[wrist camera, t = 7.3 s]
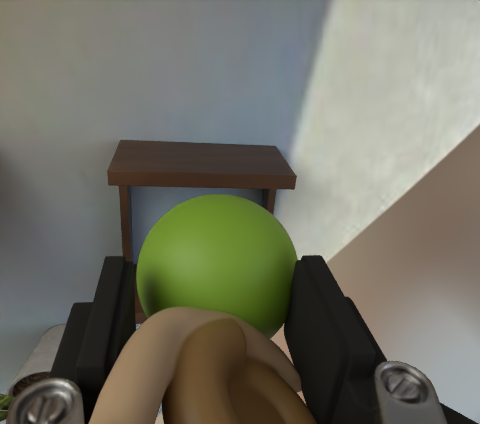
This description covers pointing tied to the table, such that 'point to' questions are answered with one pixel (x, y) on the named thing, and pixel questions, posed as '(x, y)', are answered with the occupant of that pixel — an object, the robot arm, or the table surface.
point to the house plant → (34, 367)
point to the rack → (193, 176)
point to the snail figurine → (209, 322)
